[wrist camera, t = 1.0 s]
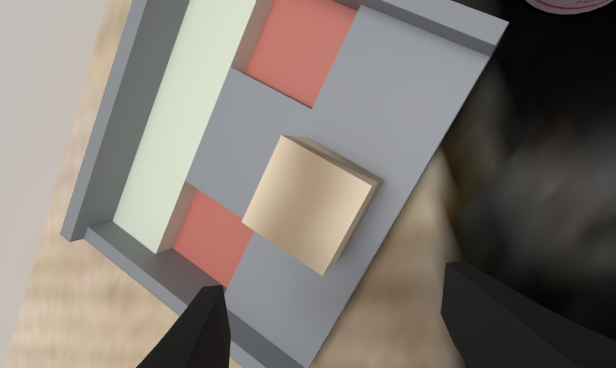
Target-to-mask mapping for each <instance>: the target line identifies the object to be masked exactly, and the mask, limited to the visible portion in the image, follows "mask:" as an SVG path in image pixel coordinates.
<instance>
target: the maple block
mask: <svg viewBox="0 0 616 368" xmlns="http://www.w3.org/2000/svg"><path fill="white" fill-rule="evenodd" d="M383 182H384V179H382V178H381V177H379V176H377V175H375V174H373V173H372V172H370V171H368V170H366V169H364V168H362V167H361V166H359V165H357V164H355V163H353V162H352V161H350V160H348V159H346V158H344V157H342V156H341V155H339V154H337V153H335V152H333V151H332V150H330V149H328V148H326V147H324V146H322V145H321V144H319V143H317V142H315V141H313V140H312V139H310V138H308V137H298V136H287V135H281V137H280V139H279V141H278V143H277V146H276V148H275V150H274V152H273V154H272V156H271V159H270V161H269V163H268V165H267V167H266V170H265V172H264V174H263V176H262V178H261V180H260V183H259V185H258V187H257V189H256V191H255V194H254V196H253V198H252V200H251V202H250V205H249V207H248V209H247V211H246V213H245V215H244V218H243V220H242V223H243V224H245V225H246V226H248V227H249V228H251V229H252V230H254V231H255V232H257V233H258V234H260V235H261V236H263V237H264V238H266V239H267V240H269V241H270V242H272V243H273V244H275V245H276V246H278V247H279V248H281V249H282V250H284V251H285V252H287V253H288V254H290V255H291V256H293V257H294V258H296V259H297V260H299V261H300V262H302V263H303V264H305V265H306V266H308V267H309V268H311V269H312V270H314V271H315V272H317V273H318V274H320V275H321V276H323V275H324V274H325V273H326V272H327V271H328V270H329V269H330V268H331V267H332V266H333V265H334V264H335V263H336V262H337V261H338V260H339V259H340V258H341V257H342V256H343V254H344V252H345V250H346V248H347V247H348V245H349V243H350V241H351V240H352V238H353V236H354V234H355V232H356V231H357V229H358V227H359V225H360V223H361V222H362V220H363V218H364V216H365V214H366V213H367V211H368V209H369V207H370V205H371V204H372V202H373V200H374V198H375V196H376V195H377V193H378V191H379V189H380V187H381V186H382V184H383Z"/></svg>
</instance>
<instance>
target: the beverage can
mask: <svg viewBox="0 0 616 368" xmlns="http://www.w3.org/2000/svg"><path fill="white" fill-rule="evenodd" d="M525 1H527V2H528V3H529V4H531V5H532V6H534V7H536V8H538V9H540V10H543V11H545V12H550V13H555V14H577V13H582V12H587V11H591V10H594V9H596V8H599V7H602V6H604V5H606V4H608V3H610V2H612V1H613V0H525Z"/></svg>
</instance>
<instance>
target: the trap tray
mask: <svg viewBox="0 0 616 368" xmlns="http://www.w3.org/2000/svg"><path fill="white" fill-rule="evenodd" d="M508 23H509V22H507V21H504V20H502V19H499V18H496V17H494V16H491V15H488V14H486V13H483V12H480V11H478V10H475V9H472V8H470V7H467V6H464V5H462V4H459V3H456V2H454V1H451V0H133V1H132V4H131V7H130V11H129V14H128V17H127V20H126V24H125V27H124V30H123V33H122V36H121V40H120V43H119V46H118V49H117V53H116V56H115V59H114V62H113V65H112V69H111V72H110V75H109V78H108V82H107V85H106V88H105V91H104V94H103V98H102V101H101V104H100V107H99V111H98V114H97V117H96V120H95V123H94V127H93V130H92V133H91V136H90V140H89V143H88V146H87V149H86V152H85V156H84V159H83V162H82V165H81V169H80V172H79V175H78V178H77V181H76V185H75V188H74V191H73V194H72V198H71V201H70V204H69V207H68V210H67V214H66V217H65V220H64V223H63V227H62V230H61V233H60V234H61V235H62V236H63V237H64V238H65V239H67V240H68V241H69V242H72V241H76V240H80V239H85V240H86V241H87V242H88V243H90V244H91V245H92V246H93V247H95V248H96V249H97V250H98V251H100V252H101V253H102V254H103V255H105V256H106V257H107V258H108V259H110V260H111V261H112V262H113V263H114V264H116V265H117V266H118V267H119V268H121V269H122V270H123V271H124V272H126V273H127V274H128V275H129V276H131V277H132V278H133V279H134V280H136V281H137V282H138V283H139V284H140V285H142V286H143V287H144V288H145V289H147V290H148V291H149V292H150V293H152V294H153V295H154V296H155V297H157V298H158V299H159V300H160V301H162V302H163V303H164V304H165V305H166V306H168V307H169V308H170V309H171V310H173V311H174V312H175V313H176V314H178V315H179V316H181V314H182V313H183V312H184V310H185V309H186V308H187V307H188V305H189V304H190V303H191V301H192V300H193V298H194V297H195V296H196V294H197V293H198V292H199V290H200V289H201V288H202V287H204V286H214V285H223V290H224V296H225V302H226V308H227V314H228V320H229V326H230V331H231V345H230V357H231V358H232V359H233V360H235V361H236V362H237V363H238V364H239V365H241V366H242V367H243V368H309V367H310V366H311V364H312V362H313V361H314V359H315V357H316V356H317V354H318V352H319V350H320V349H321V347H322V345H323V344H324V342H325V340H326V338H327V337H328V335H329V333H330V332H331V330H332V328H333V326H334V325H335V323H336V321H337V320H338V318H339V316H340V315H341V313H342V311H343V309H344V308H345V306H346V304H347V303H348V301H349V299H350V297H351V296H352V294H353V292H354V291H355V289H356V287H357V285H358V284H359V282H360V280H361V279H362V277H363V275H364V273H365V272H366V270H367V268H368V267H369V265H370V263H371V261H372V260H373V258H374V256H375V255H376V253H377V251H378V250H379V248H380V246H381V244H382V243H383V241H384V239H385V238H386V236H387V234H388V232H389V231H390V229H391V227H392V226H393V224H394V222H395V220H396V219H397V217H398V215H399V214H400V212H401V210H402V208H403V207H404V205H405V203H406V202H407V200H408V198H409V196H410V195H411V193H412V191H413V190H414V188H415V186H416V185H417V183H418V181H419V179H420V178H421V176H422V174H423V173H424V171H425V169H426V167H427V166H428V164H429V162H430V161H431V159H432V157H433V155H434V154H435V152H436V150H437V149H438V147H439V145H440V143H441V142H442V140H443V138H444V137H445V135H446V133H447V131H448V130H449V128H450V126H451V125H452V123H453V121H454V120H455V118H456V116H457V114H458V113H459V111H460V109H461V108H462V106H463V104H464V102H465V101H466V99H467V97H468V96H469V94H470V92H471V90H472V89H473V87H474V85H475V84H476V82H477V80H478V78H479V77H480V75H481V73H482V72H483V70H484V68H485V67H486V65H487V63H488V61H489V60H490V58H491V56H492V55H493V53H494V51H495V49H496V48H497V46H498V44H499V42H500V40H501V37H502V35H503V33H504V31H505V29H506V27H507V25H508ZM281 135H287V136H298V137H308V138H310V139H312V140H313V141H315V142H317V143H319V144H321V145H322V146H324V147H326V148H328V149H330V150H332V151H333V152H335V153H337V154H339V155H341V156H342V157H344V158H346V159H348V160H350V161H352V162H353V163H355V164H357V165H359V166H361V167H362V168H364V169H366V170H368V171H370V172H372V173H373V174H375V175H377V176H379V177H381V178H382V179H384V182H383V184H382V186H381V187H380V189H379V191H378V193H377V195H376V196H375V198H374V200H373V202H372V204H371V205H370V207H369V209H368V211H367V213H366V214H365V216H364V218H363V220H362V222H361V223H360V225H359V227H358V229H357V231H356V232H355V234H354V236H353V238H352V240H351V241H350V243H349V245H348V247H347V248H346V250H345V252H344V254H343V256H342V257H341V258H340V259H339V260H338V261H337V262H336V263H335V264H334V265H333V266H332V267H331V268H330V269H329V270H328V271H327V272H326V273H325V274H324V275H323V276H321V275H320V274H318V273H317V272H315V271H314V270H312V269H311V268H309V267H308V266H306V265H305V264H303V263H302V262H300V261H299V260H297V259H296V258H294V257H293V256H291V255H290V254H288V253H287V252H285V251H284V250H282V249H281V248H279V247H278V246H276V245H275V244H273V243H272V242H270V241H269V240H267V239H266V238H264V237H263V236H261V235H260V234H258V233H257V232H255V231H254V230H252V229H251V228H249V227H248V226H246V225H245V224H243V223H242V220H243V218H244V215H245V213H246V211H247V209H248V207H249V205H250V202H251V200H252V198H253V196H254V194H255V191H256V189H257V187H258V185H259V183H260V180H261V178H262V176H263V174H264V172H265V170H266V167H267V165H268V163H269V161H270V159H271V156H272V154H273V152H274V150H275V148H276V146H277V143H278V141H279V139H280V137H281Z"/></svg>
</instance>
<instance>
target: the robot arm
mask: <svg viewBox="0 0 616 368" xmlns="http://www.w3.org/2000/svg"><path fill="white" fill-rule="evenodd" d="M441 315H442V318H443V320H444V322H445V325H446V327H447V329H448V331H449V334H450V336H451V338H452V340H453V342H454V344H455V346H456V347H457V349H458V351H459V352H460V354H461V356H462V357H463V359H464V361H465V362H466V364H467V366H468V367H469V368H616V341H614V340H612V339H609V338H607V337H605V336H603V335H600V334H598V333H596V332H594V331H592V330H589V329H587V328H585V327H583V326H581V325H579V324H576V323H574V322H572V321H570V320H568V319H566V318H564V317H562V316H560V315H559V314H557V313H555V312H553V311H551V310H549V309H547V308H545V307H543V306H541V305H540V304H538V303H536V302H534V301H532V300H531V299H529V298H527V297H525V296H523V295H522V294H520V293H518V292H517V291H515V290H513V289H511V288H510V287H508V286H506V285H505V284H503V283H501V282H500V281H498V280H496V279H495V278H493V277H491V276H489V275H488V274H486V273H484V272H483V271H481V270H479V269H478V268H476V267H474V266H472V265H470V264H468V263H466V262H453V263H446V269H445V279H444V288H443V297H442V307H441ZM230 345H231V331H230V326H229V320H228V314H227V308H226V302H225V296H224V290H223V285H214V286H204V287H202V288H201V289H200V290H199V292H198V293H197V294H196V296H195V297H194V298H193V300H192V301H191V303H190V304H189V305H188V307H187V308H186V309H185V310H184V312H183V313H182V314H181V316H180V317H179V318H178V320H177V321H176V322H175V323H174V325H173V326H172V327H171V328H170V329H169V331H168V332H167V333H166V334H165V336H164V337H163V338H162V339H161V340H160V342H159V343H158V344H157V345H156V346H155V347H154V348H153V350H152V351H151V352H150V353H149V354H148V355H147V356H146V357H145V359H144V360H143V361H142V362H141V363H140V364H139V365H138V366H137V367H136V368H229V358H230Z"/></svg>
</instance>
